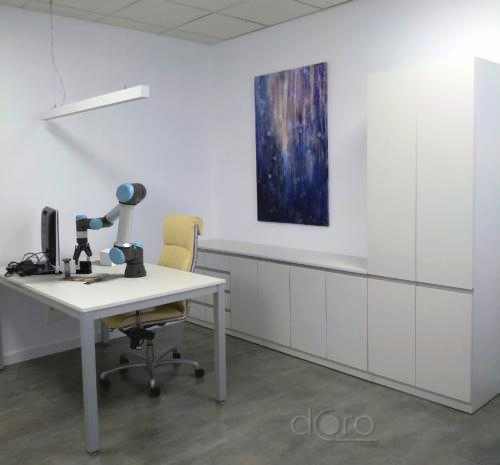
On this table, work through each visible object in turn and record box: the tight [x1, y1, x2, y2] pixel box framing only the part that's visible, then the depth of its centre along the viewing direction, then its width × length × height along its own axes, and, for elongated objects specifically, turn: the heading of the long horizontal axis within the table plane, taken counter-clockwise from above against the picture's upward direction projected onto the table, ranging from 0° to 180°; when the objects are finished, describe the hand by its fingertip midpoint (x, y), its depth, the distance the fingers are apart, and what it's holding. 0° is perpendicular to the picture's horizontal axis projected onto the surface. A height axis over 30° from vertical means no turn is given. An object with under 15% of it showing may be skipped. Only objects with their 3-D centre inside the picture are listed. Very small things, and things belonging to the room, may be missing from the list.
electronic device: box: [75, 260, 93, 275], centre depth 375 cm, size 4×10×10 cm, turn 79°
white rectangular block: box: [99, 248, 117, 267], centre depth 423 cm, size 14×29×10 cm, turn 20°
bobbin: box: [61, 257, 73, 279], centre depth 358 cm, size 6×6×13 cm
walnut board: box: [56, 275, 104, 285], centre depth 357 cm, size 27×15×2 cm, turn 74°
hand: (83, 267), depth 375 cm, fingers open, 13 cm apart
